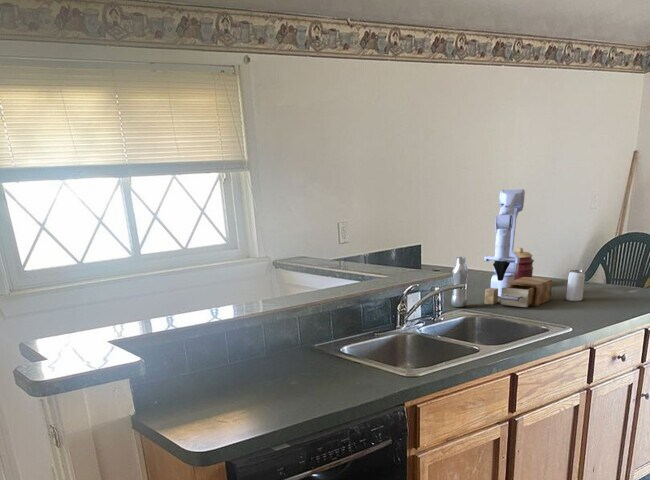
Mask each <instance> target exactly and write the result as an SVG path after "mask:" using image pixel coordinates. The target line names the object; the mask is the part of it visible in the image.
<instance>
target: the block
mask: <svg viewBox="0 0 650 480" xmlns="http://www.w3.org/2000/svg"><path fill="white" fill-rule="evenodd" d="M498 298H499V296H498V288H491V287H488V288H485V290H484V304H486V305H496V304H497V303H498V301H499V299H498Z"/></svg>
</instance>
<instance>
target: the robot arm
mask: <svg viewBox="0 0 650 480" xmlns="http://www.w3.org/2000/svg"><path fill="white" fill-rule="evenodd" d="M525 195H526V191H525V189H524V188H522V189H501V190H500V192H499V213H498V215H496V217H495V222H494V228H495V233H494V234H495V245H494V255H485V256H484V257H483V261H484V262H493V263H492V264H493V265H492V266H493V272H494V274H492V276H491V279H490V288H498V298H501V292H502V288H503V287H505V288H506V287H509V282H511V281H514V275H515V274H517V273H518V267H519V263H520V258H519V257H518V255H517V254H515V253H514V252H515V251H514V247H515V236H516V227H517V218H518V215H519V213H520V212H522V211H523V209H524V206H525V205H524V204H525Z"/></svg>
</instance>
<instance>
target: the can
mask: <svg viewBox="0 0 650 480" xmlns="http://www.w3.org/2000/svg"><path fill="white" fill-rule="evenodd" d="M585 279H586V273H585V270H582V269H571V270H570V271H569V273H568V277H567V286H566V295H565V300H566V301H568V302H582V300H583V296H584V288H585V281H586V280H585Z"/></svg>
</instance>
